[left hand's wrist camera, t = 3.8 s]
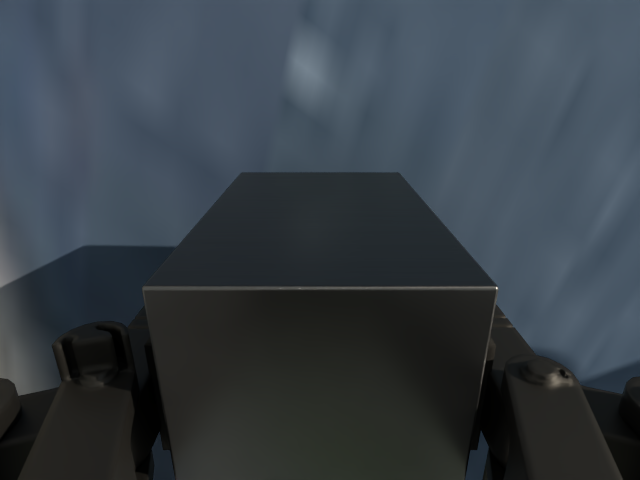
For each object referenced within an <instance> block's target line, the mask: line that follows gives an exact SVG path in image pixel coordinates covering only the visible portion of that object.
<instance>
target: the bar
mask: <svg viewBox="0 0 640 480" xmlns="http://www.w3.org/2000/svg"><path fill="white" fill-rule="evenodd" d="M142 292H143V297H144V303H145V309H146V315H147V320H148V326H149V332H150V337H151V343H152V349H153V355H154V360H155V366H156V372H157V377H158V383H159V389H160V395H161V400H162V406H163V412H164V417H165V423H166V429H167V435H168V440H169V446H170V452H171V457H172V463H173V469H174V475H175V480H465V476H466V470H467V465H468V459H469V453H470V448H471V442H472V436H473V431H474V425H475V419H476V414H477V408H478V402H479V397H480V391H481V385H482V380H483V374H484V368H485V363H486V357H487V351H488V345H489V340H490V334H491V328H492V323H493V317H494V311H495V306H496V300H497V294H498V286H497V285H496V284H495V283H494V282H493V280H492V279H491V278H490V277H489V276H488V275H487V273H486V272H485V271H484V270H483V269H482V268H481V267H480V265H479V264H478V263H477V262H476V261H475V260H474V259H473V257H472V256H471V255H470V254H469V253H468V252H467V250H466V249H465V248H464V247H463V246H462V245H461V244H460V242H459V241H458V240H457V239H456V238H455V237H454V235H453V234H452V233H451V232H450V231H449V230H448V229H447V227H446V226H445V225H444V224H443V223H442V222H441V220H440V219H439V218H438V217H437V216H436V215H435V214H434V212H433V211H432V210H431V209H430V208H429V207H428V206H427V204H426V203H425V202H424V201H423V200H422V199H421V197H420V196H419V195H418V194H417V193H416V192H415V191H414V189H413V188H412V187H411V186H410V185H409V184H408V182H407V181H406V180H405V179H404V178H403V177H402V176H401V174H400V173H240V175H239V176H238V177H237V178H236V179H235V180H234V182H233V183H232V184H231V185H230V186H229V187H228V188H227V190H226V191H225V192H224V193H223V194H222V195H221V197H220V198H219V199H218V200H217V201H216V202H215V203H214V205H213V206H212V207H211V208H210V209H209V210H208V212H207V213H206V214H205V215H204V216H203V217H202V218H201V220H200V221H199V222H198V223H197V224H196V225H195V227H194V228H193V229H192V230H191V231H190V232H189V233H188V235H187V236H186V237H185V238H184V239H183V240H182V242H181V243H180V244H179V245H178V246H177V247H176V248H175V250H174V251H173V252H172V253H171V254H170V255H169V257H168V258H167V259H166V260H165V261H164V262H163V264H162V265H161V266H160V267H159V268H158V269H157V270H156V272H155V273H154V274H153V275H152V276H151V277H150V279H149V280H148V281H147V282H146V283H145V284H144V285H143V288H142Z"/></svg>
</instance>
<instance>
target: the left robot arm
mask: <svg viewBox="0 0 640 480" xmlns="http://www.w3.org/2000/svg"><path fill="white" fill-rule="evenodd" d="M52 348H53V352H54V355H55V359H56V362H57V366H58V369H59V373H60V377H61V380H62V382H61V384H60V386H59V387H57V388H54V389H50V390H45V391H40V392H35V393H31V394H26V395H21V396H18V393H17V390H16V387H15V384H14V383H12V382H11V381H10V380H8V379H3V378H0V480H153V473H154V460H153V454H152V446H153V444H154V442H155V440H156V438H157V435H158V433H159V431H160V435H161V441H162V446H163V450H170V446H169V440H168V435H167V429H166V423H165V417H164V412H163V406H162V400H161V395H160V389H159V383H158V377H157V372H156V366H155V360H154V355H153V349H152V343H151V337H150V332H149V326H148V320H147V315H146V309H145V306H144V307H143V308H142V309H141V311H140V312H139V313H138V314H137V316H136V317H135V320H133V321H132V322H131V323H130V325H129V326H128V328H127V327H126V326H125V325H123V324H122V323H118V322H114V321H100V322H94V323H90V324H85V325H82V326H80V327H77V328H75V329H72V330H70V331H68V332H67V333H65V334H63V335H62V336H60V337H59V338H58V339H57V340H56V341H55V342H54V343H53V345H52ZM480 431H482V433H483V435H484V437H485V439H486V441H487V444H488V446H489V449H488V454H487V459H486V465H485V470H484V475H483V480H640V377H633V378H632V379H630V380H629V381H628V382H627V383H626V386H625V389H624V392H623V394H618V393H614V392H609V391H604V390H599V389H594V388H589V387H586V386H582V385H580V383H579V381H578V380H577V378H576V377H575V376H574V374H573V373H572V372H571V371H570V370H568V369H567V368H566V367H564V366H563V365H561V364H560V363H557V362H555V361H553V360H551V359H549V358H545V357H541V356H537V355H536V354H535V353H534V352H533V350H532V349H531V348H530V347H529V345H528V344H527V343H526V341H525V340H524V339H523V338H522V336H521V335H520V334H519V333H518V331H517V330H516V329H515V328H514V327H513V325H512V324H511V322H510V321H509V320H508V319H507V318H505V315H504V314H503V312H502V311H501V310H500V309H499V307H498V306H497V305H496V306H495V311H494V317H493V323H492V328H491V334H490V340H489V345H488V351H487V357H486V363H485V368H484V374H483V380H482V385H481V391H480V397H479V402H478V408H477V414H476V419H475V425H474V431H473V436H472V442H471V448H470V450H477V448H478V442H479V437H480Z"/></svg>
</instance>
